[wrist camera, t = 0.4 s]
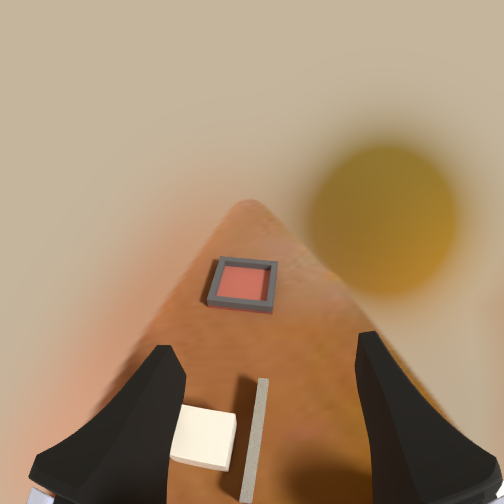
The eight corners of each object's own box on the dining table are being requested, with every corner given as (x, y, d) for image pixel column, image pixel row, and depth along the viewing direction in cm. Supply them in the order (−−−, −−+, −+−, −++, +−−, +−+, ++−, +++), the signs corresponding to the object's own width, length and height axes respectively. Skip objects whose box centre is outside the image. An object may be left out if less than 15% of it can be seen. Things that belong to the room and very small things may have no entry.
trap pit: (272, 314, 36) (272, 306, 35) (207, 306, 37) (206, 299, 36) (277, 269, 42) (277, 261, 41) (220, 263, 43) (220, 256, 42)
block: (228, 472, 22) (225, 466, 19) (176, 461, 22) (165, 453, 20) (236, 426, 26) (235, 413, 23) (187, 417, 26) (179, 403, 24)
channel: (251, 503, 19) (251, 503, 18) (144, 480, 20) (135, 477, 19) (267, 388, 29) (269, 378, 27) (174, 374, 30) (169, 363, 28)
